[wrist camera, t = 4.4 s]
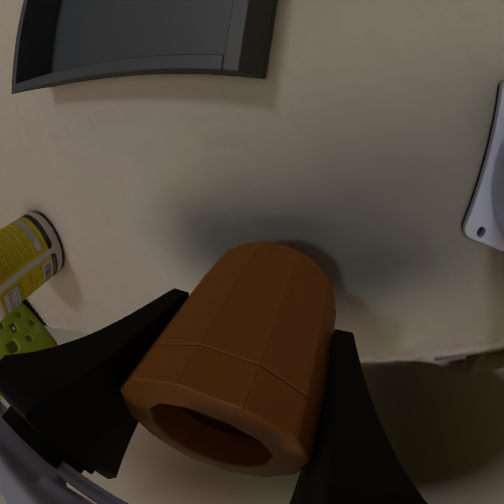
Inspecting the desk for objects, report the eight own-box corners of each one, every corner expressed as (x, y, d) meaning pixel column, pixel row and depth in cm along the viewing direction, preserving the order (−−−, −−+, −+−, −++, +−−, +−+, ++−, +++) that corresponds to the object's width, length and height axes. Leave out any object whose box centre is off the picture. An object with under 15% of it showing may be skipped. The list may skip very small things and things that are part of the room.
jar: (352, 263, 10) (339, 434, 5) (314, 356, 13) (281, 486, 7) (213, 225, 11) (100, 347, 6) (208, 324, 14) (139, 434, 8)
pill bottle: (21, 210, 21) (-65, 267, 12) (51, 209, 19) (-55, 280, 10) (40, 266, 24) (-34, 329, 15) (73, 274, 22) (-13, 353, 13)
